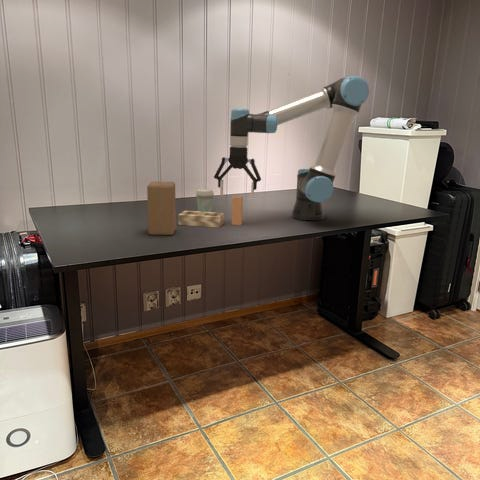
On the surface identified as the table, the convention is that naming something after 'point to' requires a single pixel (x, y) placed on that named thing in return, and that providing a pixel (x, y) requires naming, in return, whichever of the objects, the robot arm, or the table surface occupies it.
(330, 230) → the table surface
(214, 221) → the socket block
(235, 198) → the peg
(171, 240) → the table surface
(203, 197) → the coffee cup
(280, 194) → the table surface
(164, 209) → the block
